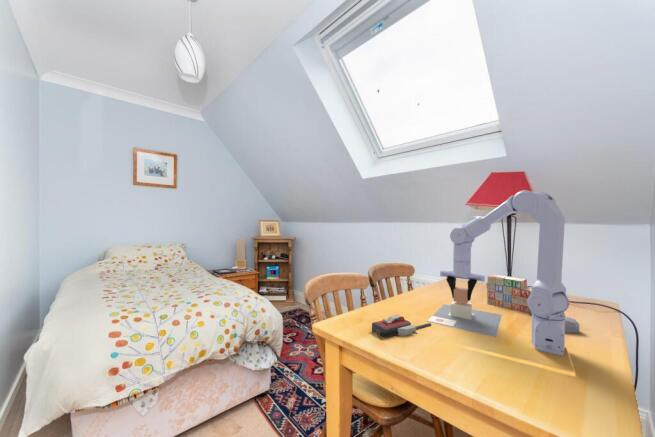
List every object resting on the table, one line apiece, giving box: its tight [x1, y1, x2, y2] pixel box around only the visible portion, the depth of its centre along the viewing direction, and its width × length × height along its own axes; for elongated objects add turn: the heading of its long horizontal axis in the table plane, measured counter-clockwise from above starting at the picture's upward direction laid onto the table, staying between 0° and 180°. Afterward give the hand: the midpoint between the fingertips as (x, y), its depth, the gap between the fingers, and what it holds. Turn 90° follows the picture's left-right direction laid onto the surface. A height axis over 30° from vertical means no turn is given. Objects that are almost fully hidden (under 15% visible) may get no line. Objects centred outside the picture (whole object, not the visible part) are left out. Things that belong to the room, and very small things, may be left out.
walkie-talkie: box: [371, 314, 432, 338], centre depth 88 cm, size 9×4×20 cm
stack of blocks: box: [486, 274, 532, 316], centre depth 110 cm, size 21×6×12 cm, turn 36°
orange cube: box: [453, 286, 470, 303], centre depth 101 cm, size 4×4×4 cm
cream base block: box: [450, 300, 473, 319], centre depth 101 cm, size 6×6×4 cm
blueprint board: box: [426, 303, 503, 338], centre depth 97 cm, size 24×20×1 cm
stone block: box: [565, 316, 580, 334], centre depth 94 cm, size 12×5×10 cm
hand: (461, 298), depth 101 cm, fingers closed on orange cube, 4 cm apart
